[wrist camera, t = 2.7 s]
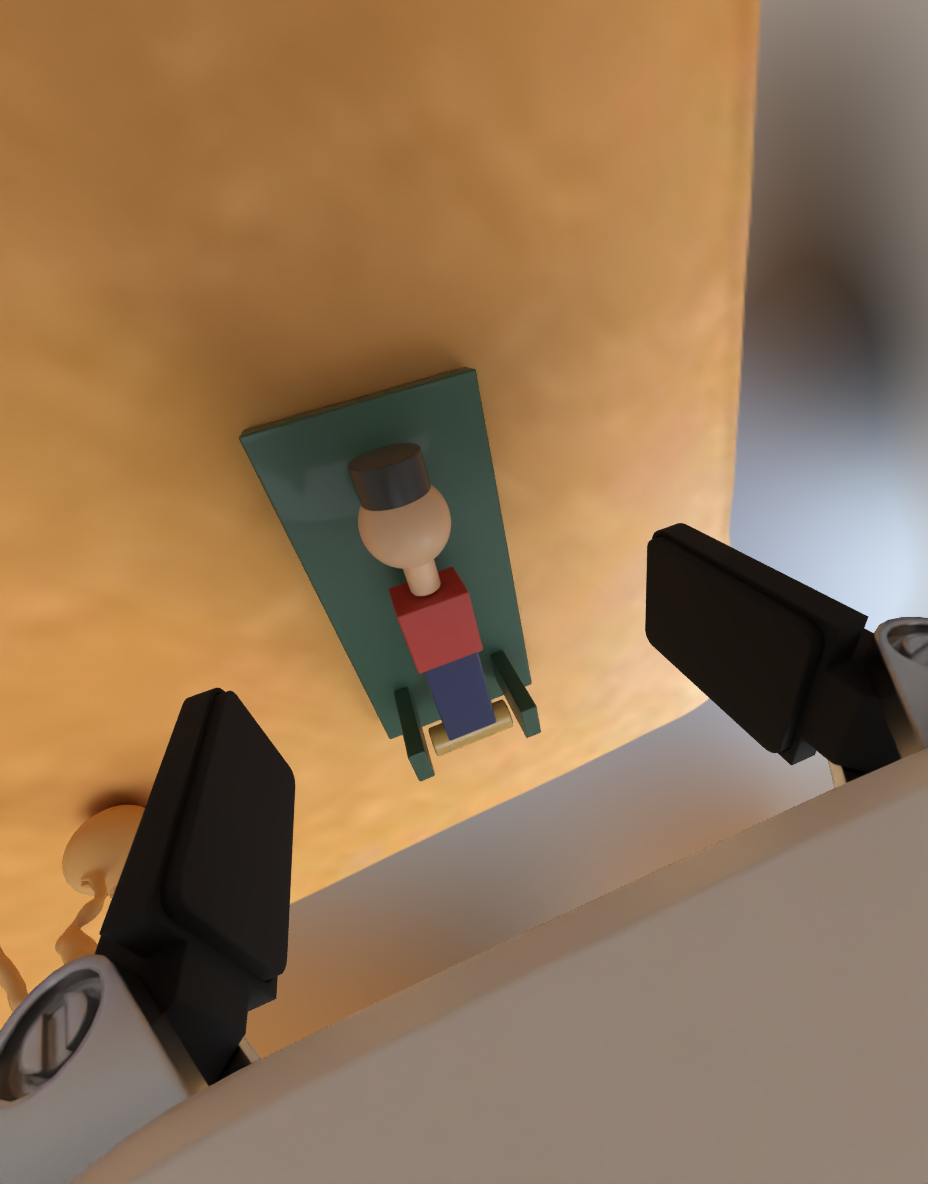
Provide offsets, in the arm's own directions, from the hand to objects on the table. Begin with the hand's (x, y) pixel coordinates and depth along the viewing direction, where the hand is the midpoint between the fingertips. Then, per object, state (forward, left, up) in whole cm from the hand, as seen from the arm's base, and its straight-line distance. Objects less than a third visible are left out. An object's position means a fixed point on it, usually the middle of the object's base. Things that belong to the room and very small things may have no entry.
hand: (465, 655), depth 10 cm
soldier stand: (+5, +1, -11) cm, 12 cm away
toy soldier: (+4, +1, -9) cm, 10 cm away
